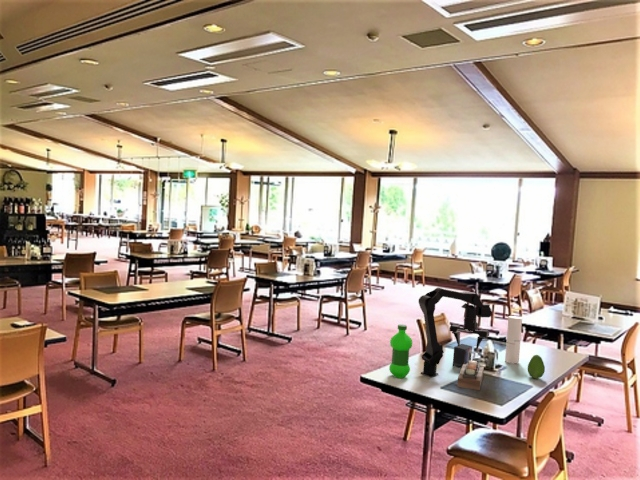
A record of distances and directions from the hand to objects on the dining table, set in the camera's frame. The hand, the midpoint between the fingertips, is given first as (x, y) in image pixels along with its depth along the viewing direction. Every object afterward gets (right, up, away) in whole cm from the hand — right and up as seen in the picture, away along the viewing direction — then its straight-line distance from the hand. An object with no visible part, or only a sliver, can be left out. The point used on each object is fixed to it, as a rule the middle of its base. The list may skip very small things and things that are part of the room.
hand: (467, 347), depth 263 cm
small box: (+1, -13, +13) cm, 18 cm away
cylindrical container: (+32, -13, +26) cm, 43 cm away
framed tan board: (-2, -14, -11) cm, 18 cm away
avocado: (+33, -15, -2) cm, 37 cm away
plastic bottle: (-36, -12, -11) cm, 40 cm away
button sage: (-4, -8, -19) cm, 21 cm away
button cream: (+1, -8, -4) cm, 9 cm away
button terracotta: (-1, -8, -12) cm, 14 cm away
